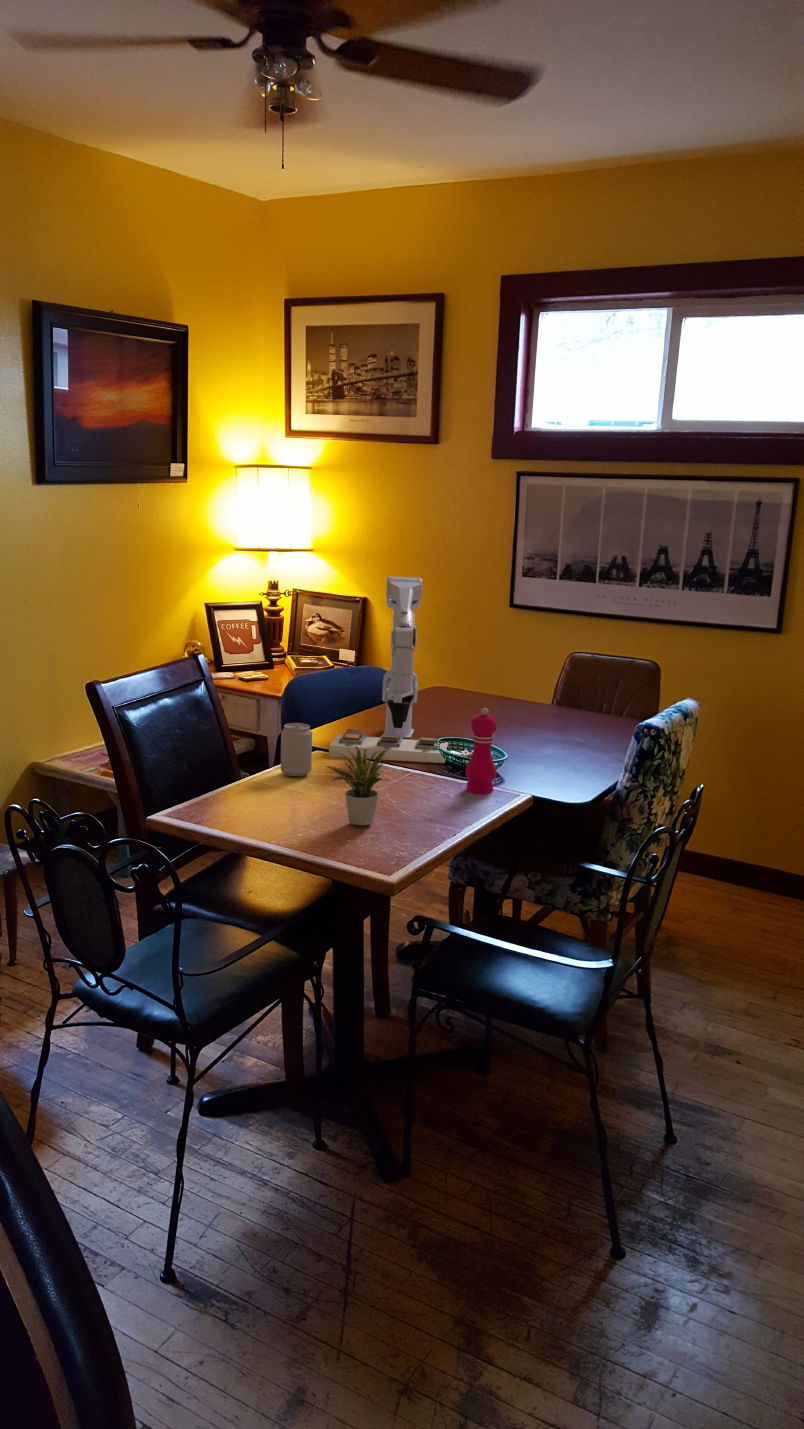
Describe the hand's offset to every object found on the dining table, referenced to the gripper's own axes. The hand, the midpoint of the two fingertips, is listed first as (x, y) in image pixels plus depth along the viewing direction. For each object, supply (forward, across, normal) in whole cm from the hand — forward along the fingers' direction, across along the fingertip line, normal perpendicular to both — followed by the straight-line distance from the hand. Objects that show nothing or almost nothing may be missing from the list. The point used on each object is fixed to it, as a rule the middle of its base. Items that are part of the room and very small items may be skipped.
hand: (399, 724), depth 266 cm
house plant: (+9, +53, 0) cm, 54 cm away
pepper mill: (+9, +25, +23) cm, 35 cm away
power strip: (+8, -1, -3) cm, 9 cm away
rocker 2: (+4, -2, -3) cm, 5 cm away
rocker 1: (+4, -2, -13) cm, 13 cm away
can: (+9, +23, -22) cm, 33 cm away
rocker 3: (+4, -2, +7) cm, 9 cm away
